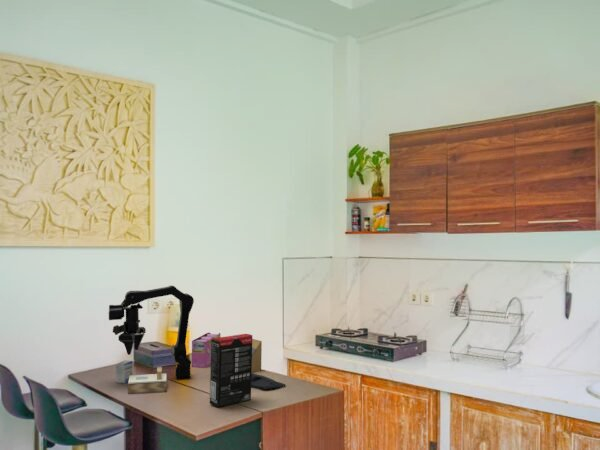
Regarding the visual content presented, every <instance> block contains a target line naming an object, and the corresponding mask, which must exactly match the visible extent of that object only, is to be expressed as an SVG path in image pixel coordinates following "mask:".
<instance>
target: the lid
mask: <svg viewBox="0 0 600 450" xmlns="http://www.w3.org/2000/svg"><path fill="white" fill-rule="evenodd" d="M162 371H163V367H162V366H157V367H156V373H154V374H153V373H151V374H150V373H149V374H133V375H130V377H129V381H127V382H128V383H127V385H128V384H136V383H154V382H166V383H167V373H163V372H162Z"/></svg>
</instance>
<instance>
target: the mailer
mask: <svg viewBox="0 0 600 450" xmlns="http://www.w3.org/2000/svg"><path fill="white" fill-rule="evenodd" d="M151 392H152V393H164V392H165V393H166V392H167V381H166V382H154V383H136V384H128V383H127V394H128V395H131V394H134V395H136V394H151Z"/></svg>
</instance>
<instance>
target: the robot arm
mask: <svg viewBox="0 0 600 450" xmlns="http://www.w3.org/2000/svg"><path fill="white" fill-rule="evenodd" d="M165 296H166V297H167V296H174V298H175V299H177V300H178V301H179V313H180V314H179V321H178V322H179V323H178V329H177V338H176V343H175V344H172V345H171V348H172V349H171V352H170V354H171V356H172V358H173V359H174V361H175V362H176V367H175V368H174V369H175V372H174V373H175V378H176V380H187V379H189V380H190V379H192V378H191V365H192V360H191V359H190V358H189V357H188V356H187V346H186V341H187V333H188V327H189V318H190V317H189V316H190V313H191V310H192V308H193V305H194V302H195V300H194V298H193V295H190V294H189V293H187V292H186V293H184V292H182V291H180V289H178V288H177V287H176V286H174V285H168V286H165V287H159V288H153V289H148V290H129V291H127V292H126V293H125V296H124V299H123V300H122V302H121V303H120V304H110V305H108V321H115V320H116V321H117V320H118V321H119V320H123V318H125V320H124V321H123V324H122V325H118V324H117V325H114V326H113V327H112V333H114V335H115V336H116V335H117V336H118V341H119V342H121V343H122V344H123V345H124V348H125V350H126V354H127V355H128V356H130V355H131V354H132V351H133V348H134V351H138V350H139V347H140V345H141V343H142V340H143V338H144V336H145V333H146V328H145V327H144V326H140V323H141V320H140V319H139V315H140V314H139V310H140V309H143V306H142V305H141V304H140V303H141V302H143V301H146V300H151V299H155V298H156V299H157V298H160V297H165Z"/></svg>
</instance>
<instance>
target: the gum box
mask: <svg viewBox="0 0 600 450" xmlns="http://www.w3.org/2000/svg"><path fill="white" fill-rule="evenodd" d="M220 337H221V333H220V332H218V334H216V333H211V332H205V334H202V335H201V336H199V337H197V338H195V339H193V340H191V368H201V369H202V368H203V369H205V368H207V367H209V366H211V339H212V338H220Z"/></svg>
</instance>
